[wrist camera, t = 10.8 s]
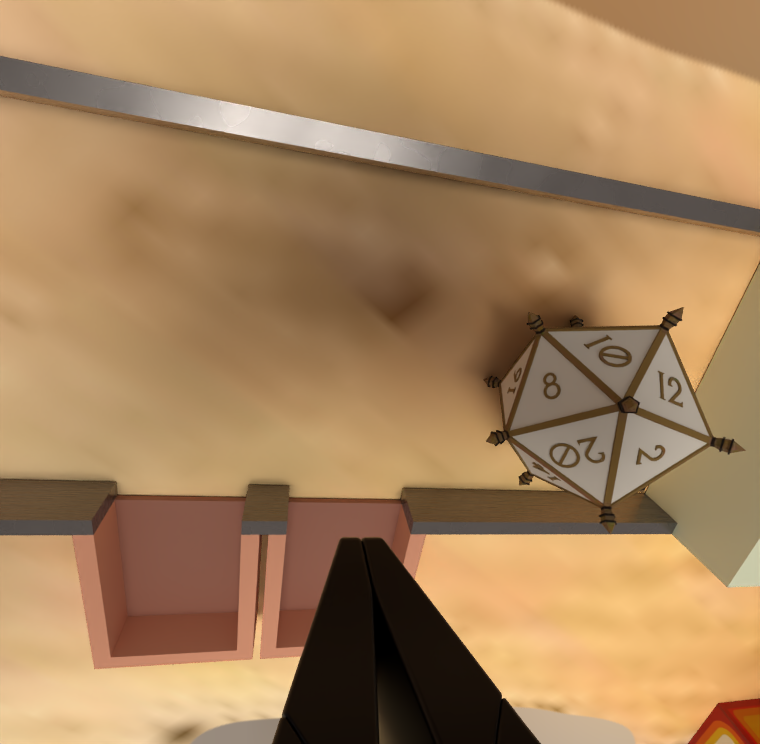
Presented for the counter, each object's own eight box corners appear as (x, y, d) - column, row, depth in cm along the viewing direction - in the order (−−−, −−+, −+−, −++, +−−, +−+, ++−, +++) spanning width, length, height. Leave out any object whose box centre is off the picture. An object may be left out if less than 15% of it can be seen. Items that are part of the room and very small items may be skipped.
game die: (504, 375, 25) (512, 554, 20) (454, 281, 19) (446, 502, 14) (684, 346, 21) (755, 563, 16) (694, 213, 15) (813, 493, 10)
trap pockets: (115, 621, 23) (94, 668, 21) (98, 495, 20) (72, 535, 18) (388, 610, 26) (396, 650, 24) (414, 500, 23) (426, 534, 21)
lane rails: (-85, 492, 18) (-140, 535, 16) (-245, 18, 12) (-374, -20, 10) (640, 503, 26) (671, 534, 24) (780, 221, 20) (842, 226, 17)
